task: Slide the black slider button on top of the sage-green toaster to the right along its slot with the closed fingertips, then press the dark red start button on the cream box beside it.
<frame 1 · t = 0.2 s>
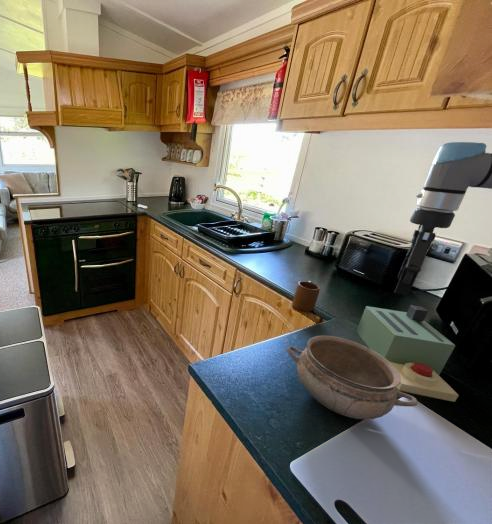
hand: (401, 286, 79), 22 cm above the countertop, tool pointing down, fingers open, 13 cm apart
toaster: (393, 351, 89), on the countertop
start button: (422, 369, 74), point 4 cm above the countertop, slide at 0.1 cm
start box: (415, 383, 76), on the countertop
mug: (303, 305, 114), on the countertop
cooking pot: (333, 401, 69), on the countertop
toaster slider: (416, 313, 88), point 12 cm above the countertop, slide at 0.0 cm
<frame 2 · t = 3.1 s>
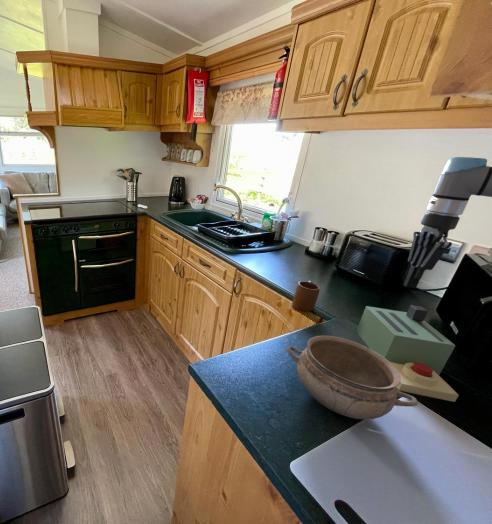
hand: (409, 286, 92), 18 cm above the countertop, tool pointing down, fingers closed
nothing on the countertop moved.
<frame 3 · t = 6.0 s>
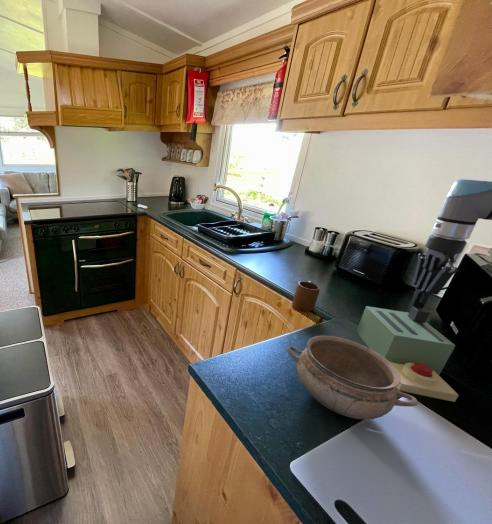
hand: (414, 310, 89), 12 cm above the countertop, tool pointing down, fingers closed
toaster slider: (418, 314, 87), point 12 cm above the countertop, slide at 0.9 cm, touching gripper
everything else where it was.
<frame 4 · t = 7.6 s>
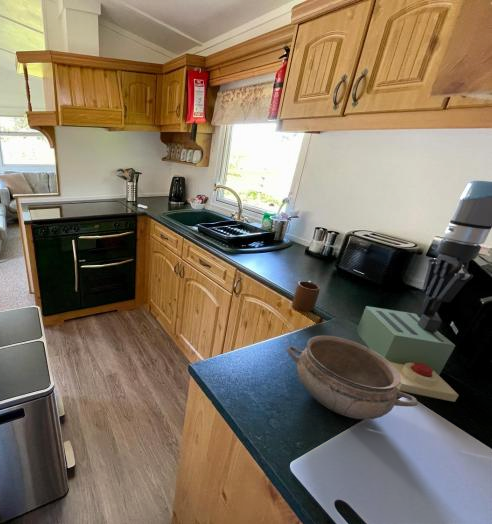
hand: (424, 318, 85), 12 cm above the countertop, tool pointing down, fingers closed
toaster slider: (429, 322, 83), point 12 cm above the countertop, slide at 5.7 cm, touching gripper
everything else where it was.
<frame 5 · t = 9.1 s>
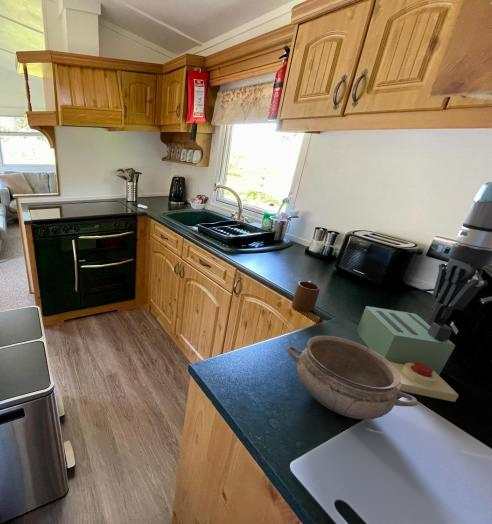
hand: (434, 326, 81), 12 cm above the countertop, tool pointing down, fingers closed
toaster slider: (439, 331, 79), point 12 cm above the countertop, slide at 10.0 cm, touching gripper
everything else where it was.
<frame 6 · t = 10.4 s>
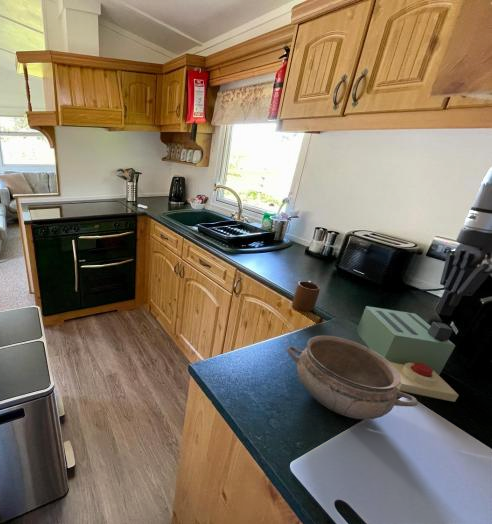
hand: (443, 313, 79), 16 cm above the countertop, tool pointing down, fingers closed
toaster slider: (440, 331, 79), point 12 cm above the countertop, slide at 10.1 cm
everything else where it was.
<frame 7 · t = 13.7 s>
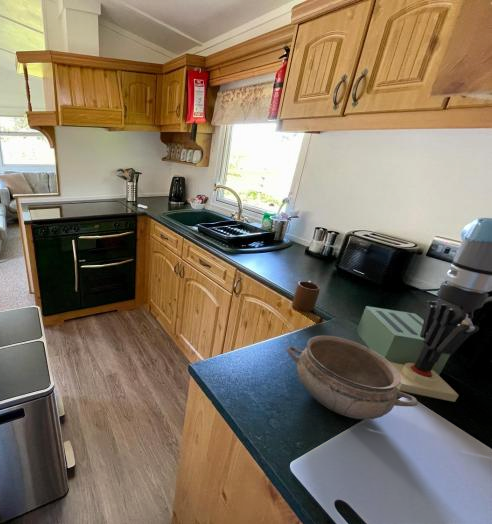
hand: (422, 368, 74), 5 cm above the countertop, tool pointing down, fingers closed
start button: (421, 372, 75), point 4 cm above the countertop, slide at -0.6 cm, touching gripper
everything else where it was.
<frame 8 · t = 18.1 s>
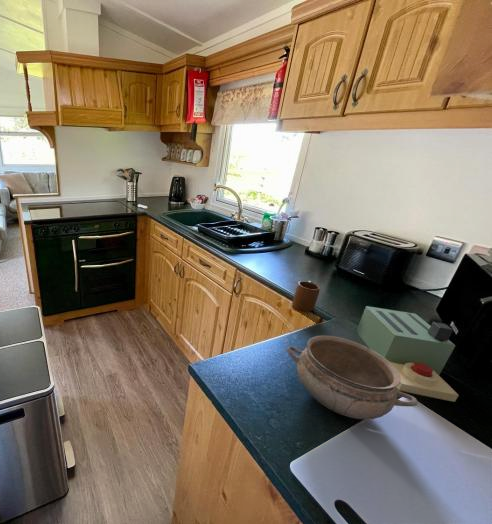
start button: (422, 369, 74), point 4 cm above the countertop, slide at 0.1 cm
everything else where it was.
at the end: toaster slider slide at 10.1 cm; start button pushed in 1.0 cm at the most during the clip, back to where it started at the end; start button slide at 0.1 cm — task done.
